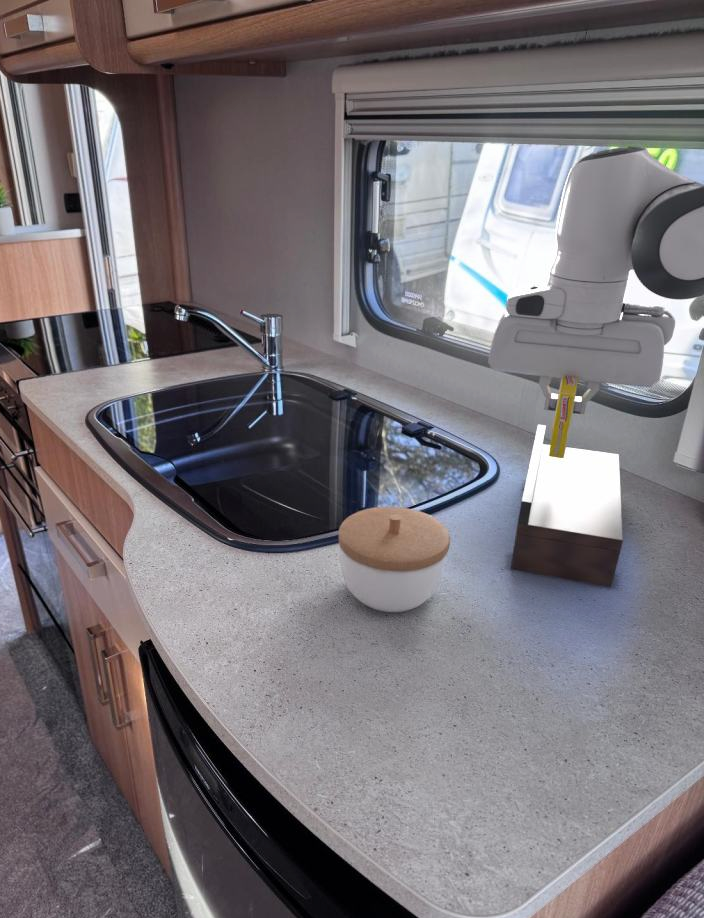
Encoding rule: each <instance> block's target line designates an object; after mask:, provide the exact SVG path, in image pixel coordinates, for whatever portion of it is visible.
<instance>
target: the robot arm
mask: <svg viewBox="0 0 704 918" xmlns="http://www.w3.org/2000/svg"><path fill="white" fill-rule="evenodd" d="M555 241H556V249H555V255H554V258H553V260H552V263H551V265H550V266H549V271H548V276H547V277H548V278H547V280H543V281H539V282H535V283H530V284H526V285H520V286H518V287H515V288H514V289H513V290H511V291H510V293H509V294H508V296H507V298H506V303H505V309H506V311H505V312H504V313H503V315H502V316H501V318H500V319H499V320H498V323H497V326H496V328H495V331H494V333H493V336H492V340H491V344H490V349H489V352H488V353H489V354H488V360H487V363H488V366H489V367H490V369H491V370H492V371H494V372H501V373H511V374H521V375H530V376H538V377H539V381H538V385H539V388H540V390H541V392H542V395H543V397H544V398H545V400H544V407H543V410H544V411H552V412H556V405H557V400H558V394H559V393H558V394H557V393H553V392H552V390H551V387H550V385H551V383H552V378H557V379H562V378H563V377H564V376H566V377H577V378H578V380H577V381H586V382H587V384H586V389H587V390H586V391H585V392H584V393H583V394H582V395H581V396H576V395H575V402H574V408H573V414H575V415H583V416H584V415H585V412H586V408H587V404H588V403H589V401H590V400H591V399H592V398H593V397H594V396H596V394H597V393H598V392H599V391H600V385H601V383H602V384H603V383H604V384H613V385H623V386H631V387H632V386H633V387H641V388H652V387H654V386H655V385H656V384H657V383H659V382H660V380H661V376H662V371H663V365H664V355H665V346H666V345H667V344H668V343H669V342H670V341H671V340H672V338H673V335H674V331H675V328H676V319H675V315H673V314H672V313H671V312H670V311H668V310H665V307H663V306H659V305H652V306H648V305H642V304H635V303H626V302H625V299H626V292H627V288H628V283H629V279H630V275H631V274H630V273H631V272H632V271H634V273H635V275H636V278H637V280H638V281H639V282H640V284H642V286H643V287H644V288H645V289H647V290H648V291H649V292H651V293H652V294H654V295H656V296H659V297H662V298H664V299H668V300H669V299H670V300H677V301H678V300H680V301H681V300H691V299H695V298H700V297H702V296H704V184H703V183H700V182H698V181H695V180H693V179H691V178H688V177H686V176H684V175H682V174H680V173H679V172H676V171H674V170H673V169H671V168H669V167H668V166H666V165H665V164H663V163H662V162H661V161H659V160H658V159H657V158H655V157H654V156H653V155H652V154H651V153H650V152H649V150H648V149H646V148H645V147H641V146H635V145H634V146H631V145H630V146H627V147H616V148H609V149H604V150H599V151H596V152H591V153H589V154H586V155H584V156H583V157H582V158H580V159H579V160H578V161H577V162H575V164H574V165H573V166H572V167H571V168H570V170H569V173H568V175H567V178H566V180H565V184H564V187H563V191H562V195H561V200H560V205H559V209H558V215H557V220H556V226H555ZM664 315H665V316H664Z"/></svg>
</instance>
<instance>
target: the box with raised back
mask: <svg viewBox="0 0 704 918" xmlns="http://www.w3.org/2000/svg"><path fill="white" fill-rule="evenodd" d="M546 429H547V425H544V424H537V425H536V430H535V435H534V440H533V445H532V449H531V455H530V459H529V464H528V469H527V473H526V476H525V477H526V478H525V482H524V487H523V491H522V497H521V500H520V507H519V514H518V520H517V525H516V531H515V538H514V542H513V543H514V544H513V550H512V557H511V562H510V567H509V568H510V570H515V571H520V572H525V573H532V574H536V575H541V576H547V577H552V578H558V579H563V580H569V581H575V582H580V583H585V584H590V585H595V586H601V587H607V588H612V587H613V583H614V578H615V576H616V575H615V574H616V571H617V567H618V562H619V559H620V555H621V550H622V548H623V547H622V546H623V543H624V532H623V511H622V488H621V487H622V486H621V467H620V454H619V453H612V452H605V451H604V452H603V451H598V450H589V449H583V448H582V449H581V448H573V447H567V446H566V450H565V455H564V458H556V457H550V456H549V451H550V444H544V440H545V434H546Z"/></svg>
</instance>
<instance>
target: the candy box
mask: <svg viewBox="0 0 704 918" xmlns="http://www.w3.org/2000/svg"><path fill="white" fill-rule="evenodd" d="M578 381H579V380H578V378H577V377H566V376H564V377H563V378H560V383H559V389H558V400H557V405H556V411H554V412H555V414H554V419H553V425H552V432H551V438H550V444H549V445H550V451H549V456H550V457H556V458H564V455H565V450H566V447H567V446H568V440H569V436H570V432H571V431H570V430H571V424H572V419H573V415H574V413H573V408H574V402H575V396H576V395H577V388H578Z"/></svg>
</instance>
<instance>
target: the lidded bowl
mask: <svg viewBox="0 0 704 918" xmlns="http://www.w3.org/2000/svg"><path fill="white" fill-rule="evenodd" d="M450 536H451V535H450V532H449V530H448V528H447V527H446V526H445V525H444V524H443V523H442V522H441V520H439V519H437V518H435V517H434V516H433V515H430V514H428V513H425V512H424V511H423V512H422V511H420V510H417V509H412V508H407V507H403V506H402V507H401V506H378V507H370V508H365V509H363V510H359V511H357V512H355V513H352V514H351V515H349V516H347V517H346V518H345V519H344V520H343V521H342V522H341V524H340V525H339V528H338V545H339V563H340V570H341V574H342V578H343V581H344V583H345V585H346V587H347V589H348V591H350V593H351V594H352V595H353V596H354V597H355V599H357V600H358V601H359V602H360V603H361V604H363V605H365V606H366V607H368V608H370V609H373V610H376V611H379V612H384V613H402V612H407V611H410V610H411V611H412V610H413V609H415V608H417V607H420V606H421V605H422V604H424V603H425V602H427V601H428V600H429V599H430V598H431V597H432V596H433V595H434V593H435V592H436V590H437V589H438V587H439V585H440V584H441V580H442V578H443V576H444V572H445V570H446V566H447V565H446V564H447V558H448V552H449V549H450V546H451V545H450V543H451V537H450Z"/></svg>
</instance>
